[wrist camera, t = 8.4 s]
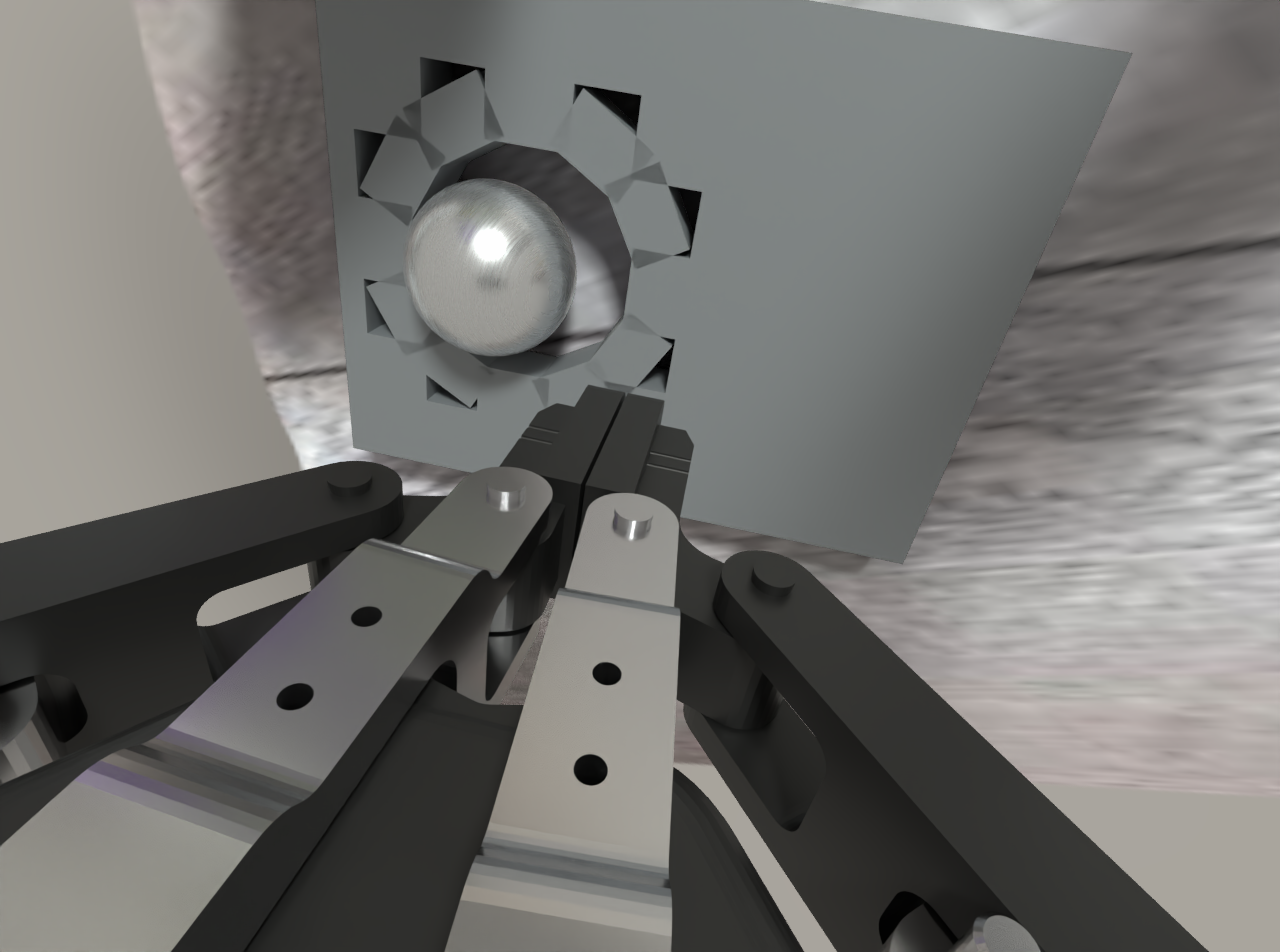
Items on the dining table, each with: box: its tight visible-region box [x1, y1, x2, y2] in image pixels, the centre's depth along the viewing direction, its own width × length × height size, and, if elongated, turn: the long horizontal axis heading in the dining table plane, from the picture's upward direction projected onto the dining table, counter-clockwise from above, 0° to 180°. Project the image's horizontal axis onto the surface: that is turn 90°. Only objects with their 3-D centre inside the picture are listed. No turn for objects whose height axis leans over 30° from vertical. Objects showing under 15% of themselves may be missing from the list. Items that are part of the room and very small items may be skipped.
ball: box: [403, 178, 577, 356], centre depth 23 cm, size 6×6×6 cm
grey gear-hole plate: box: [315, 0, 1132, 564], centre depth 24 cm, size 18×24×2 cm
